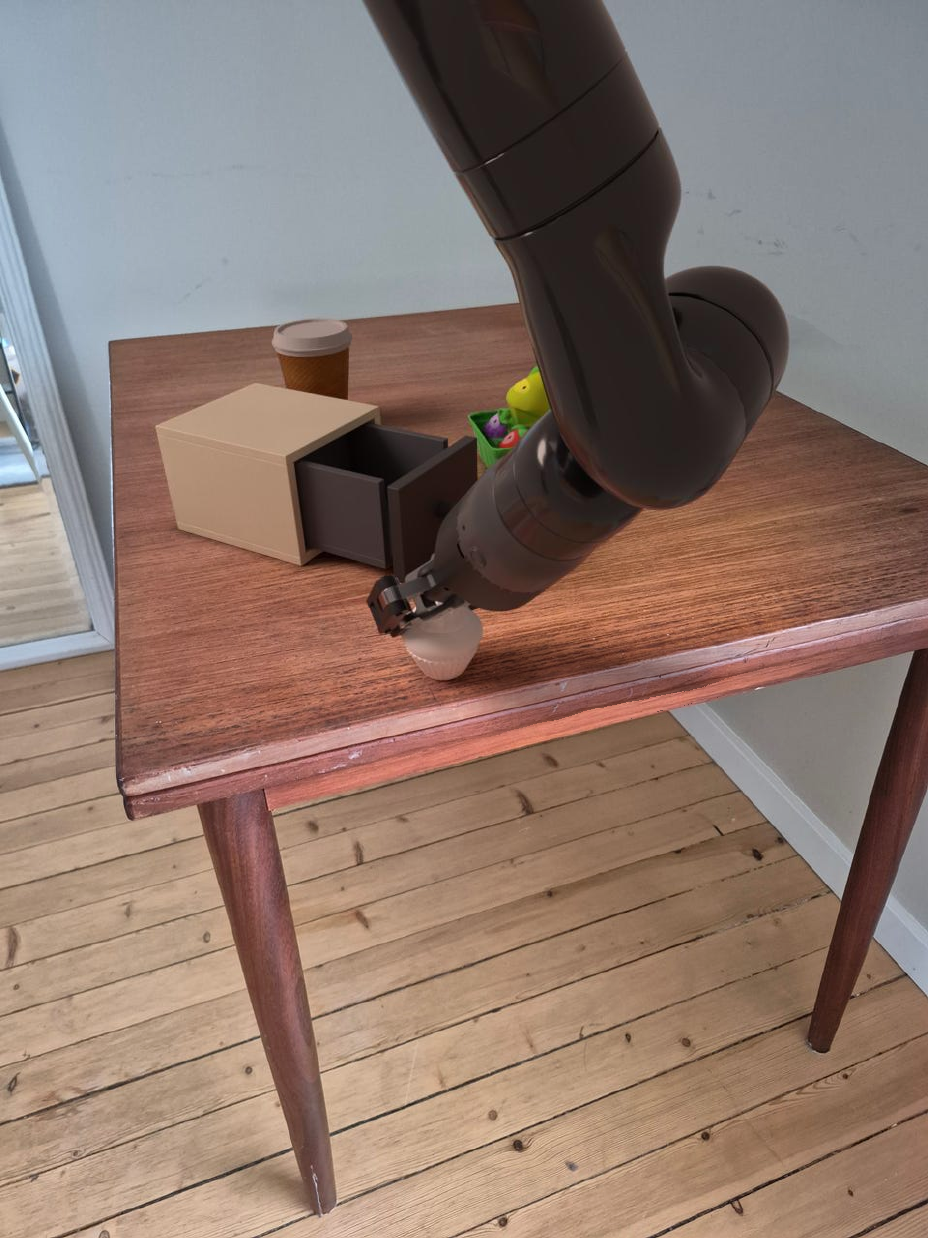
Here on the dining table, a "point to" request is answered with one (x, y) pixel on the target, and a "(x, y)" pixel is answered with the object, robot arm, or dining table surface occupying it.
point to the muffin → (444, 643)
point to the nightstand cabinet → (251, 464)
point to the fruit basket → (510, 418)
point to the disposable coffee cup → (314, 356)
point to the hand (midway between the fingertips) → (429, 610)
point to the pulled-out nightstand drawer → (382, 494)
